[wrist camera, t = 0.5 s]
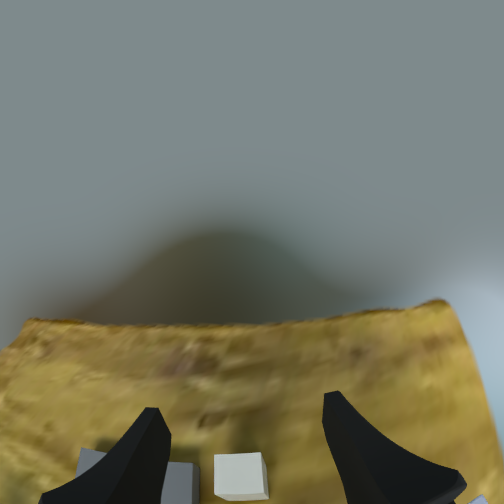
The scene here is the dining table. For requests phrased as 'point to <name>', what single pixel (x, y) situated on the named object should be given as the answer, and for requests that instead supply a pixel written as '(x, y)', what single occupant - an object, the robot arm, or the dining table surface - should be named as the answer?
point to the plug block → (240, 477)
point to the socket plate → (175, 484)
